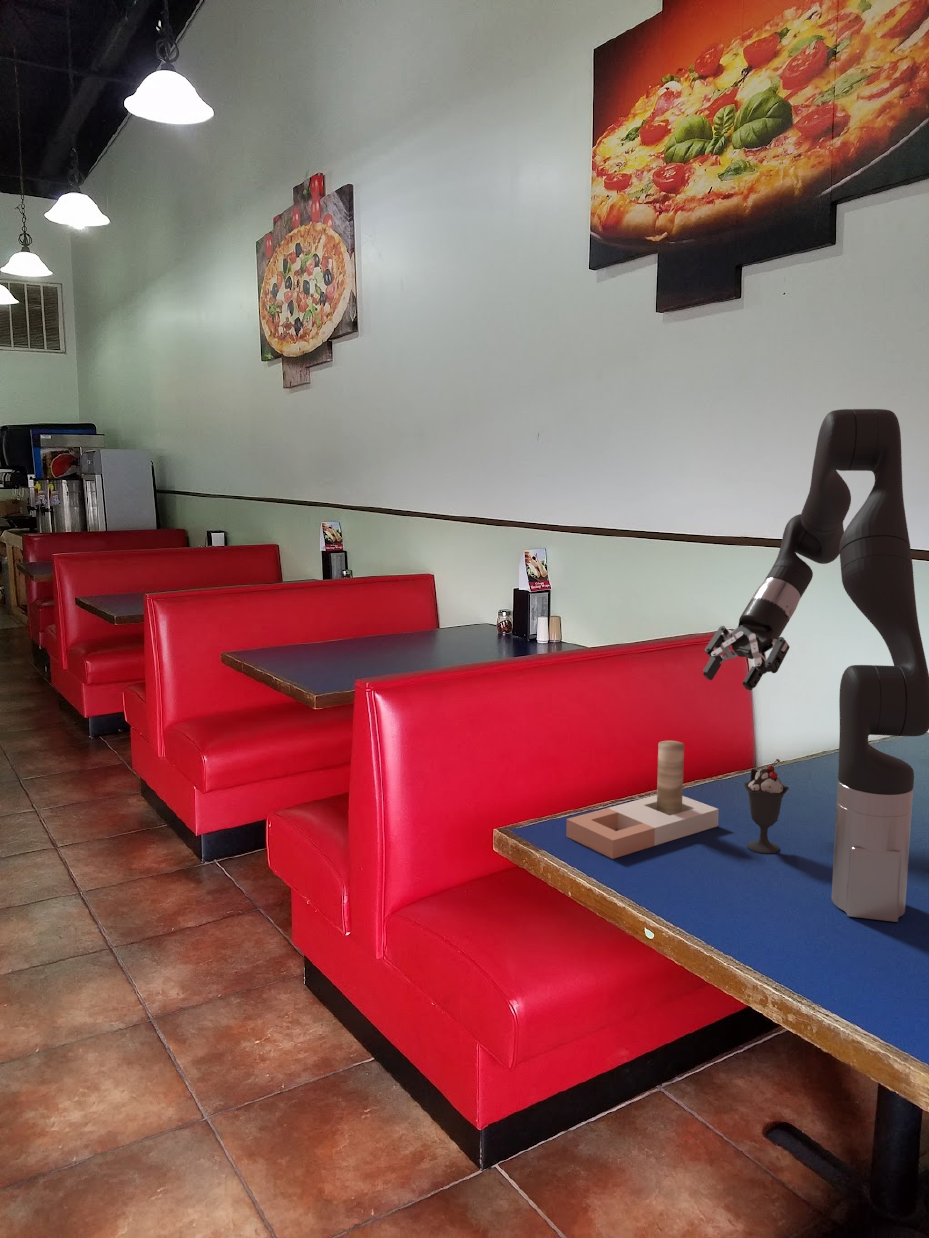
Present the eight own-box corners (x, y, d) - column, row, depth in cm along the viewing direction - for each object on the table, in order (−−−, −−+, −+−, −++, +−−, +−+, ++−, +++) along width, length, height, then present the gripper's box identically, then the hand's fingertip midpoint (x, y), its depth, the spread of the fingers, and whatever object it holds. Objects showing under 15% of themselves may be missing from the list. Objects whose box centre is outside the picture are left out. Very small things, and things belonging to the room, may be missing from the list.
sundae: (786, 858, 139) (790, 764, 137) (740, 853, 141) (744, 760, 139) (785, 842, 145) (789, 752, 143) (742, 837, 147) (745, 748, 145)
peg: (680, 829, 151) (683, 748, 149) (655, 826, 152) (657, 746, 150) (682, 820, 155) (684, 741, 153) (657, 818, 156) (659, 739, 154)
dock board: (612, 858, 139) (612, 840, 139) (566, 836, 148) (566, 818, 148) (718, 826, 152) (718, 808, 152) (669, 807, 161) (670, 791, 161)
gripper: (728, 591, 165) (684, 662, 161) (796, 601, 153) (750, 678, 149) (746, 616, 169) (703, 686, 165) (813, 627, 157) (769, 703, 153)
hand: (726, 682), depth 157 cm, fingers open, 8 cm apart
